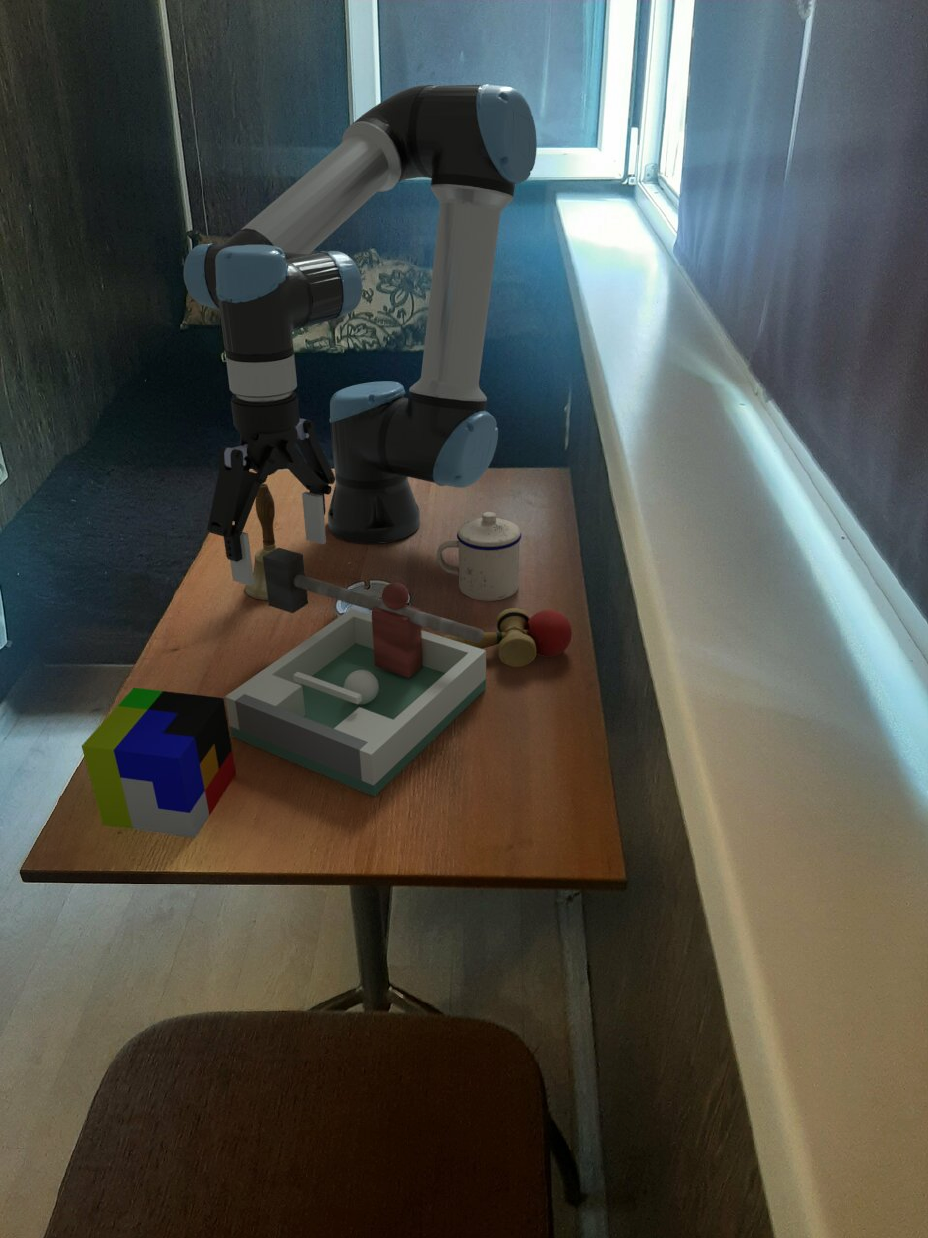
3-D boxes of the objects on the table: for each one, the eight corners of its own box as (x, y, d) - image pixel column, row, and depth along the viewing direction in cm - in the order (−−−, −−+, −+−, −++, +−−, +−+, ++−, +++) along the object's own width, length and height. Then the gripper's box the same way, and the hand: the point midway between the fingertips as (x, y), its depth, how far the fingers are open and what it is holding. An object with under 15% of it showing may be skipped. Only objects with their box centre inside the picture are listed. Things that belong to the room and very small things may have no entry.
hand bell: (306, 573, 142) (295, 473, 134) (297, 600, 135) (285, 496, 127) (251, 573, 142) (237, 473, 134) (239, 600, 135) (224, 496, 127)
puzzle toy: (195, 838, 93) (178, 758, 88) (102, 825, 95) (81, 745, 90) (236, 774, 102) (223, 698, 97) (150, 763, 103) (133, 687, 98)
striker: (287, 620, 125) (278, 542, 120) (486, 686, 112) (487, 602, 106) (271, 631, 123) (261, 552, 117) (472, 700, 109) (472, 614, 103)
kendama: (436, 685, 118) (578, 663, 118) (427, 639, 116) (572, 615, 116) (435, 662, 126) (570, 640, 125) (427, 617, 124) (564, 595, 123)
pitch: (354, 644, 124) (350, 595, 120) (485, 688, 115) (486, 637, 111) (231, 736, 107) (222, 683, 104) (374, 796, 98) (370, 740, 94)
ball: (358, 688, 113) (356, 659, 111) (386, 698, 111) (384, 669, 109) (338, 704, 110) (335, 676, 108) (365, 715, 108) (363, 686, 106)
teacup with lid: (520, 573, 141) (521, 501, 135) (520, 603, 133) (522, 528, 128) (439, 572, 142) (438, 500, 136) (435, 602, 134) (433, 526, 128)
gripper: (308, 363, 118) (321, 520, 129) (156, 415, 100) (185, 593, 110) (356, 372, 115) (365, 532, 125) (208, 427, 96) (233, 609, 107)
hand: (281, 561), depth 118 cm, fingers open, 13 cm apart
